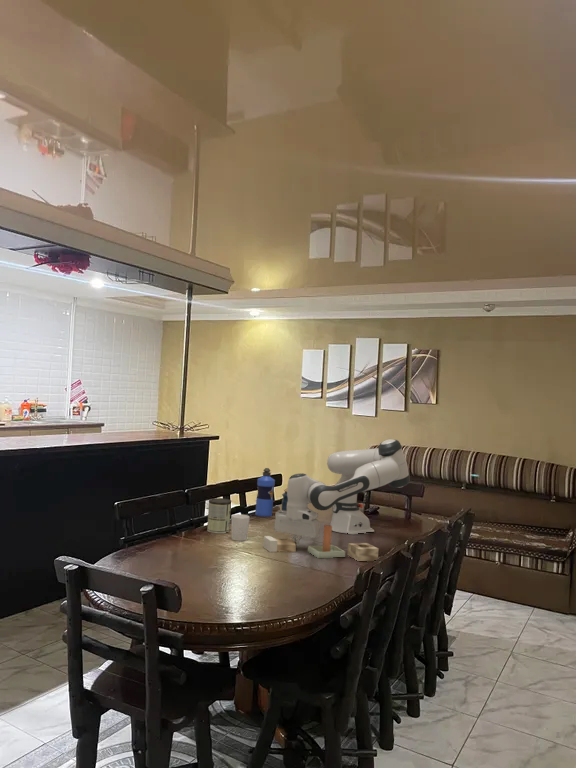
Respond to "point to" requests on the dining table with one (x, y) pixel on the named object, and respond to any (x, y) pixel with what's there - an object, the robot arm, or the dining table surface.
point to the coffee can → (219, 515)
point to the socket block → (362, 551)
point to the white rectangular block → (270, 544)
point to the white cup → (239, 527)
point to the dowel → (327, 538)
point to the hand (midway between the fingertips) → (296, 545)
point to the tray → (333, 552)
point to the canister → (284, 501)
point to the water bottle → (265, 494)
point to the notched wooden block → (286, 545)
